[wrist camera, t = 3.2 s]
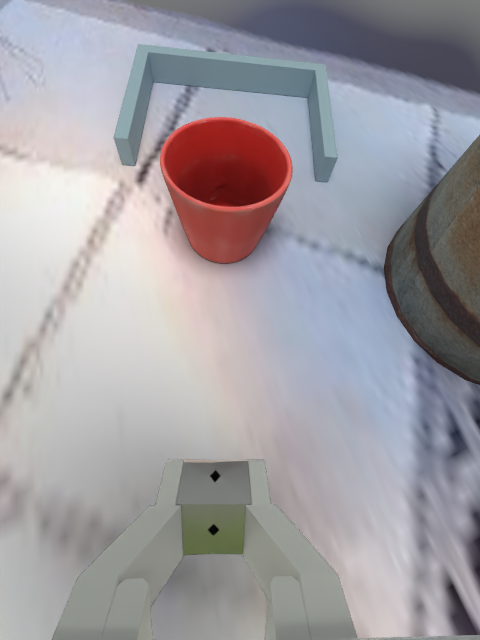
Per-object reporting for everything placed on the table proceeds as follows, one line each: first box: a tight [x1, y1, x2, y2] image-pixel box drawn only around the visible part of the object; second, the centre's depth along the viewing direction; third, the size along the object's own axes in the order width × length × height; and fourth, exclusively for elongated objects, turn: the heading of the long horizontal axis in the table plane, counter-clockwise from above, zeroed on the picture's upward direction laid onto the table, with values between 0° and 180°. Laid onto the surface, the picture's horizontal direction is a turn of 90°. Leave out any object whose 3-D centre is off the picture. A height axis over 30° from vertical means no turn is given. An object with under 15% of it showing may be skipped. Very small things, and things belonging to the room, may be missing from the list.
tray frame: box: [114, 44, 338, 182], centre depth 39 cm, size 25×18×4 cm
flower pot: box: [160, 117, 293, 263], centre depth 30 cm, size 11×11×10 cm
